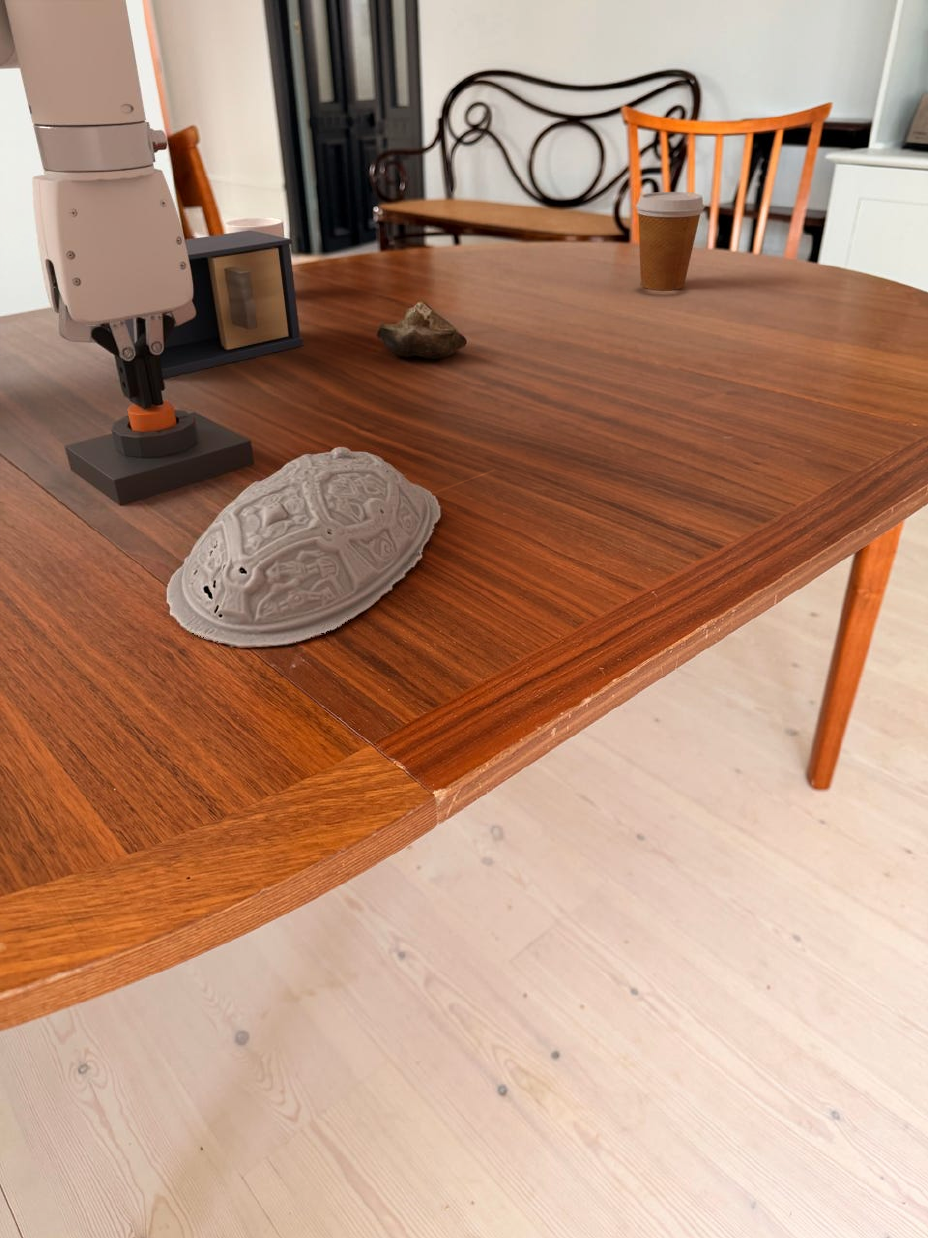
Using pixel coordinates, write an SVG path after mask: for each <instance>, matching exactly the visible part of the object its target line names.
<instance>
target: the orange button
mask: <svg viewBox="0 0 928 1238" xmlns="http://www.w3.org/2000/svg"><path fill="white" fill-rule="evenodd" d="M174 410H175V409H174V404H173V403H172V402H171V401H169V400H165V399H163V405H159V406H155V405H152V406H151V407H150V408H147V409H143V408H141V407H139V406H138V405H136V404H134V403H132V404H131V405H130V406H129V407H128V408H127V416H128V415H129V419H130V424H131V428H132V430H133V431H140V432H148V431H159V430H163V429H166V428H170V427H173V426H174V425H176V424H177V423H176V418H175V413H174Z"/></svg>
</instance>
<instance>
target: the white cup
mask: <svg viewBox="0 0 928 1238" xmlns="http://www.w3.org/2000/svg"><path fill="white" fill-rule="evenodd" d="M225 229H226V234H228V233H235V232H242V231H249V230H251V231H256V232H261V233H265V234H270V235H274V236H279V237H283V238H285V227H284V220H283V219H280V218H275V217H247V218H239V219H233V220H230V221H227V222H225Z"/></svg>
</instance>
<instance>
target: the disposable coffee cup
mask: <svg viewBox="0 0 928 1238" xmlns="http://www.w3.org/2000/svg"><path fill="white" fill-rule="evenodd" d="M635 208H636V213H637V216H638V245H639V266H640V267H639V270H640V272H639V273H640V274H639V275H640V286H641V287H643V288H645V289H648V290H654V291H673V290H679V289H682V288H684V287H685V283H686V279H687V275H688V271H689V266H690V262H691V258H692V253H693V250H694V249H693V248H694V245H695V240H696V235H697V230H698V227H699V222H700V217H701V214H702V213H703V210H704V209H705V208H706V206H705V205H704V202H703V195H701V194H698V193H693V192H683V191H681V192H680V191H661V192H660V191H658V192H647V193H643V194H640V195H639V197H638V201H637V204H635Z"/></svg>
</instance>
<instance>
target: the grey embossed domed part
mask: <svg viewBox="0 0 928 1238" xmlns="http://www.w3.org/2000/svg"><path fill="white" fill-rule="evenodd" d="M441 515H442V514H441V506H440V505H439V500H438V499H437V497H436V495H434V494H433V493H432V492H431V491H430V490H429V489H426V488H424V487H422V486H421V485H418V484H414V483H413V482H410V481H409V480H408V479H407V478H406V477H405V476H404V474H403V473H401V472H400V471H399V470H397V469H396V468H395V467H394V466H393V465H392V464H390V463H389V462H387V461H384V459H383V458H382V457H380V456H379V455H377V454H373V453H369V452H368V451H351V450H350V449H349V448H348V447H345V446H338V447H334V448H333V449H332V450H331V451H327V452H321V453H320V452H319V453H316V454H315V453H313V454H311V453H305V454H302V455H301V456H299V457H297V458H295V459H292V460H291V461H289V462H287V463H285V464H284V465H283V466H282V468H280V469H279V470H277V471H276V472H274V473H272V474H271V475H269V476H268V477H266V478H263V479H262V480H260V481H257V480H256V481H254V482H253V483H251V484H250V485H249V486H247V487H246V488H245V489H244V490H243V491H242V492H241V493H240V494H238V496H237V497H236V498H235V499H234V500H232V501H231V502H229V504H228V505H226V507H224V508H223V509H222V510H221V511H220V512H219V514H218V515H217V516H216V518H215V519H214V521H212V523H211V524H210V525H209V526H208V528H207V529H206V530H205V531H204V532H203V533H202V535H201V536H200V537H199V538H198V540H197V541H196V542H195V544H194V545H193V547H192V549H191V552H190V554H189V555H188V556H187V557H185V558H184V562H183V564H182V565H181V566H180V567H178V569H176V571H175V572H174V573H173V574H172V576H171V577H170V580H169V582H168V584H167V588H166V604H168V606H169V615H170V617H173V618H174V619H175V620H176V622H177V623H179V626H180V627H182V628H183V629H185V630H186V631H187V632H188V631H189V632H188V633H190V634H192V633H194V634H193V635H195V636H197V635H198V636H197V637H199V638H202V639H204V640H206V641H213V643H215V642H216V643H217V644H225V645H228V646H230V648H233V647H236V648H238V649H244V648H268V647H277V646H288V645H293V644H297V643H300V642H302V641H306V640H309V639H312V638H315V637H319V636H322V635H325V634H327V633H328V632H327V631H329V632H331V631H334V630H336V629H338V628H340V627H342V626H343V625H344V624H346V623H347V622H349V621H350V619H351V620H352V619H354V618H355V617H357V616H358V615H359V614H361V613H363V612H365V611H366V610H369V608H371V607H372V606H374V605H375V603H376V602H378V601H379V600H380V599H381V597H382V596H384V595H385V594H387V593H389V591H392V590H393V585H395V584H396V583H398V582H399V581H400V580H402V579H404V578H405V577H406V573H407V572H409V571H410V570H411V568H415V566H416V565H417V563H418V561H420V560H421V559H422V558H423V554H422V553H423V552H424V551H423V549H424V547H425V546H426V544H428V541H430V538H431V536H432V534H433V533H434V529H435V524H437V523H438V522H439V520H440V519H441ZM241 568H242V569H244V571H246V573H241V572H243V570H241ZM214 585H215V587H214ZM205 587H208V590H209V592H210V593H211V597H212V598H210V597H209V594H208V593H206V592H205V589H204V588H205ZM216 609H217V611H216ZM215 611H216V612H215ZM220 615H222V616H221V617H220ZM348 620H349V621H348ZM345 622H346V623H345ZM342 624H343V625H342ZM337 627H338V628H337ZM330 630H331V631H330ZM326 632H327V633H326ZM321 633H324V634H321ZM315 635H316V636H315ZM200 636H201V637H200ZM203 637H204V638H203ZM311 637H312V638H311ZM217 641H218V642H217ZM293 641H294V642H293ZM296 641H297V642H296Z"/></svg>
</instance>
